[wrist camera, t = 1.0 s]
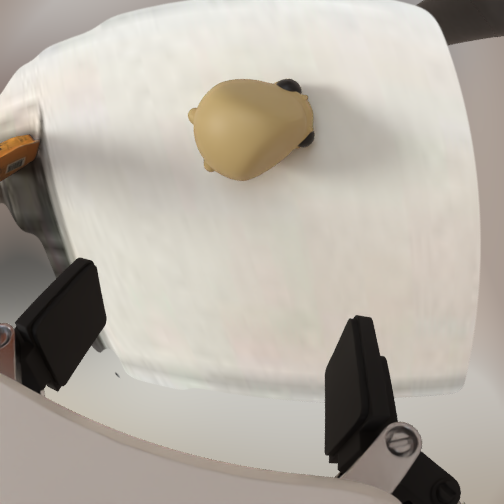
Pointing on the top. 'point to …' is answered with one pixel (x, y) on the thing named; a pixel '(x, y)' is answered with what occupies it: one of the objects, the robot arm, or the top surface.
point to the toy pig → (251, 126)
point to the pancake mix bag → (16, 154)
